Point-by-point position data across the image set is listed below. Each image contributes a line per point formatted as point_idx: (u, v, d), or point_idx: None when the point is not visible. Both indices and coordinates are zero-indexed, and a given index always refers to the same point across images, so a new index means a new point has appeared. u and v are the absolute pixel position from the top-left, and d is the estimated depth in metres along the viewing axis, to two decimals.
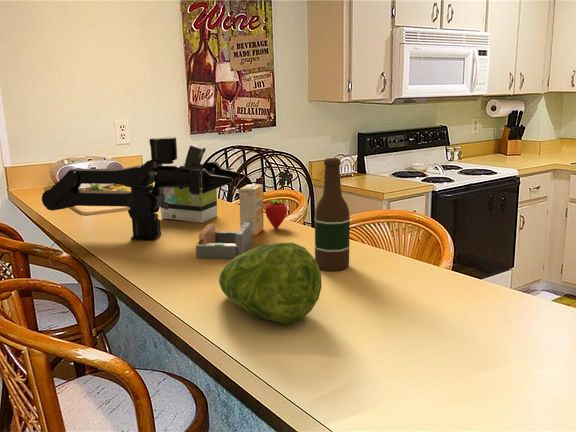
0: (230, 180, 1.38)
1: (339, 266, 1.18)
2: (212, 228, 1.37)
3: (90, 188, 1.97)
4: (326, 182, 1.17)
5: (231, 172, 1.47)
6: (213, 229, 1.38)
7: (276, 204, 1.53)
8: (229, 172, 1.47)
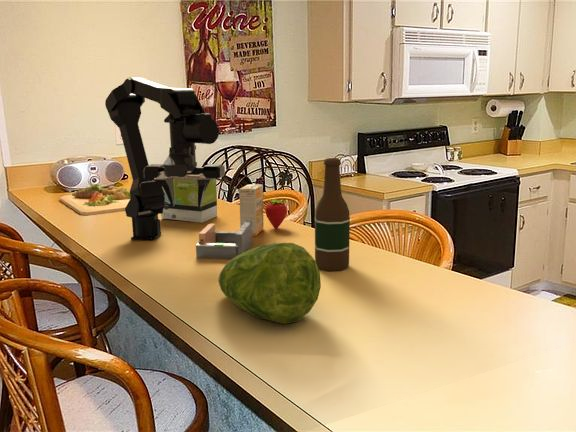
0: None
1: (339, 266, 1.18)
2: (212, 228, 1.37)
3: (90, 188, 1.97)
4: (326, 182, 1.17)
5: None
6: (213, 229, 1.38)
7: (276, 204, 1.53)
8: None
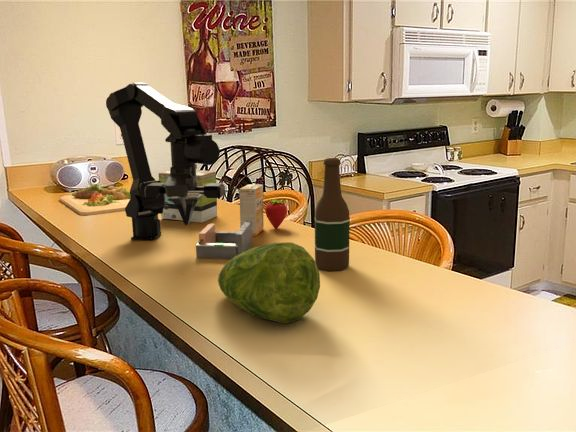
0: None
1: (339, 266, 1.18)
2: (212, 228, 1.37)
3: (89, 188, 1.97)
4: (326, 182, 1.17)
5: None
6: (213, 229, 1.38)
7: (276, 204, 1.53)
8: None
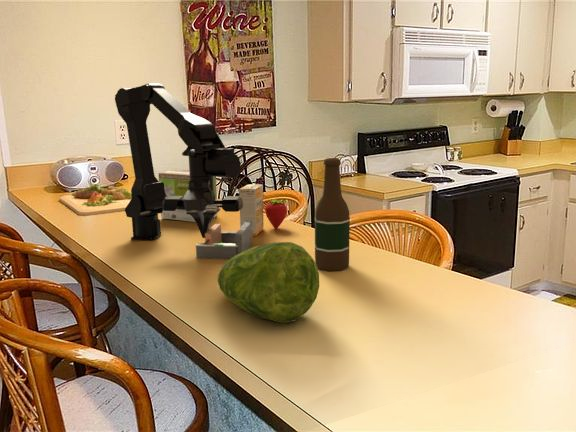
0: None
1: (339, 266, 1.18)
2: (218, 228, 1.37)
3: (89, 188, 1.96)
4: (326, 182, 1.17)
5: None
6: (219, 229, 1.38)
7: (276, 204, 1.53)
8: None
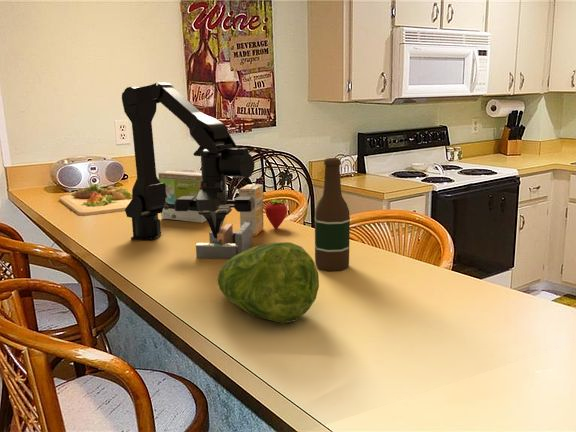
0: None
1: (339, 266, 1.18)
2: (230, 228, 1.36)
3: (89, 188, 1.96)
4: (326, 182, 1.17)
5: None
6: (231, 229, 1.37)
7: (276, 204, 1.53)
8: None
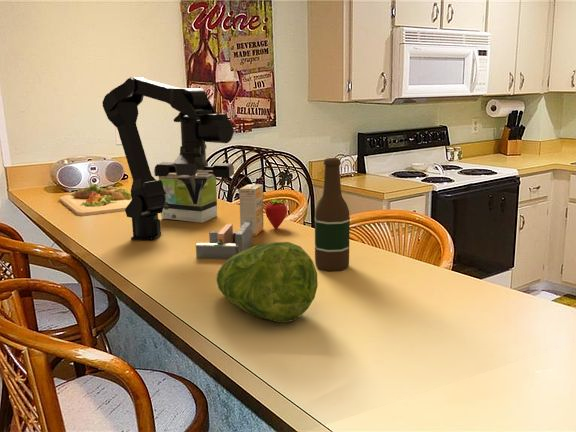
0: None
1: (339, 266, 1.18)
2: (230, 228, 1.36)
3: (88, 188, 1.96)
4: (326, 182, 1.17)
5: None
6: (231, 229, 1.37)
7: (276, 204, 1.53)
8: None
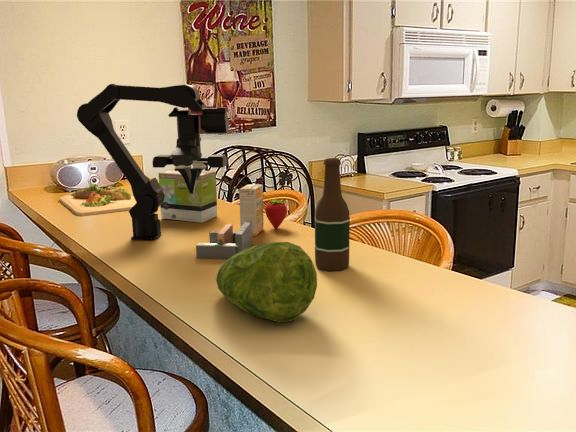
0: None
1: (339, 266, 1.18)
2: (230, 228, 1.36)
3: (88, 188, 1.96)
4: (326, 182, 1.17)
5: None
6: (231, 229, 1.37)
7: (276, 204, 1.53)
8: None
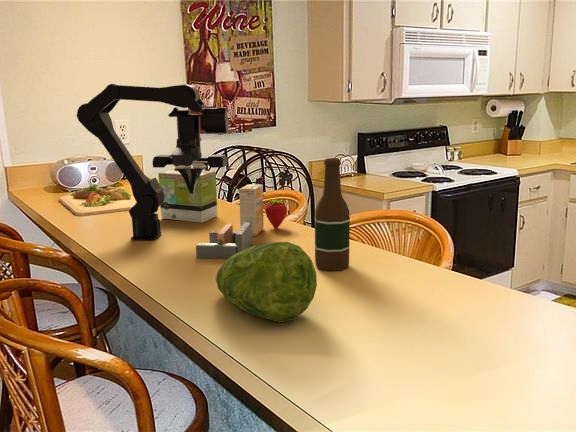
0: None
1: (339, 266, 1.18)
2: (230, 228, 1.36)
3: (88, 188, 1.96)
4: (326, 182, 1.17)
5: None
6: (231, 229, 1.37)
7: (276, 204, 1.53)
8: None
